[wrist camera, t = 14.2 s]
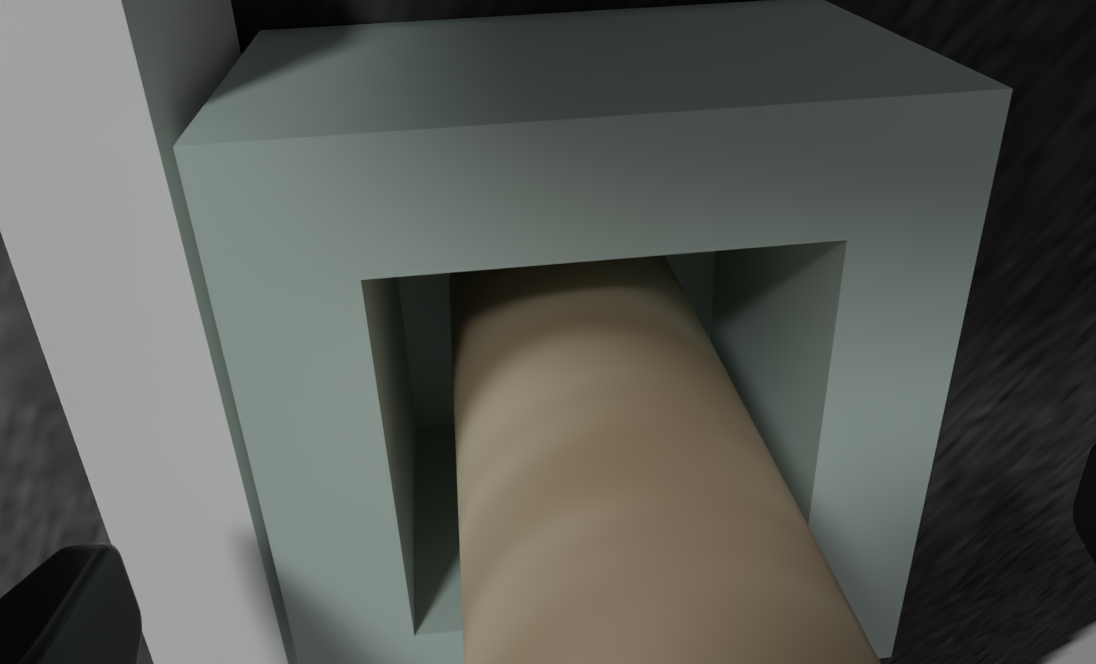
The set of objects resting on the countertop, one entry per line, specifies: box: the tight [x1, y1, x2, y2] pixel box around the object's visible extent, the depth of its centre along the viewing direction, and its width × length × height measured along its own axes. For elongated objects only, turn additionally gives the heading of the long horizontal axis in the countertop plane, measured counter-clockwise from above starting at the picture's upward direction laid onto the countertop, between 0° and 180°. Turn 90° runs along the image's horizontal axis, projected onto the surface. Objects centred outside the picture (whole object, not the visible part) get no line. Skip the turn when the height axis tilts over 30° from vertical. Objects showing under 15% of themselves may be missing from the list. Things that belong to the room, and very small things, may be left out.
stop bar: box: [0, 0, 299, 664], centre depth 11 cm, size 2×12×4 cm, turn 2°
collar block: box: [173, 0, 1013, 664], centre depth 11 cm, size 7×7×4 cm
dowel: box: [449, 255, 881, 664], centre depth 9 cm, size 3×3×8 cm
